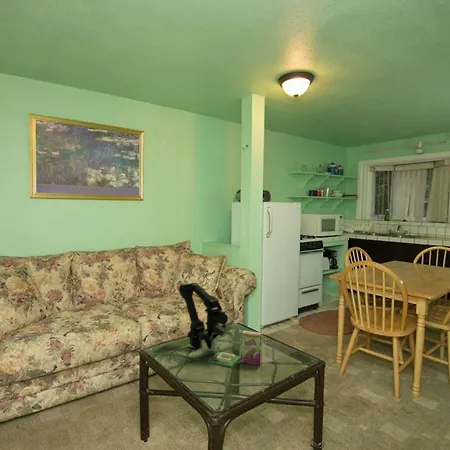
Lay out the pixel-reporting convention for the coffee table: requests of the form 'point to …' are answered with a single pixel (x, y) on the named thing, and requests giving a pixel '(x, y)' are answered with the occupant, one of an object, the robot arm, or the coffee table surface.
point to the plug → (213, 345)
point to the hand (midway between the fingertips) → (211, 347)
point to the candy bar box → (251, 347)
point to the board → (224, 359)
